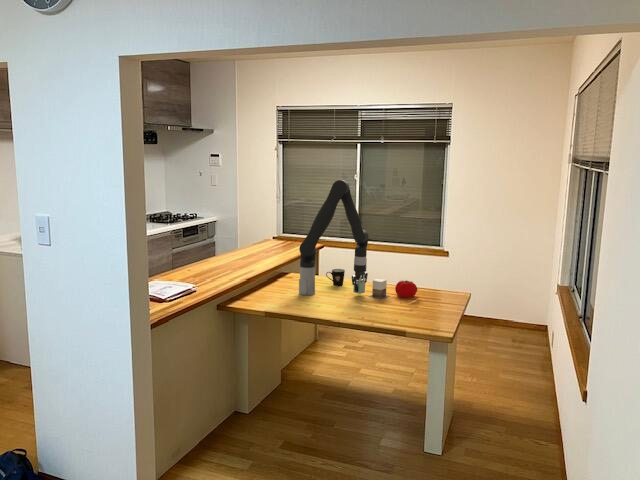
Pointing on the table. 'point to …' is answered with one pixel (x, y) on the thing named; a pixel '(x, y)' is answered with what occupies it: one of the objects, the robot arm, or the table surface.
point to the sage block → (360, 288)
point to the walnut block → (378, 293)
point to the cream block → (379, 284)
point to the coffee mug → (337, 276)
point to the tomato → (405, 289)
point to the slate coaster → (379, 298)
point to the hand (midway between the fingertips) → (359, 290)
